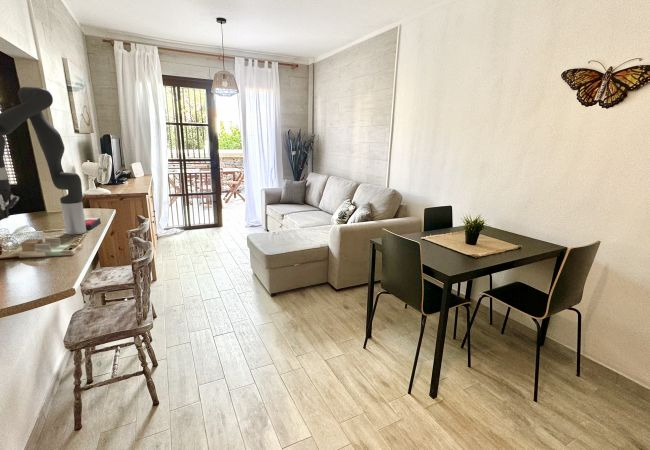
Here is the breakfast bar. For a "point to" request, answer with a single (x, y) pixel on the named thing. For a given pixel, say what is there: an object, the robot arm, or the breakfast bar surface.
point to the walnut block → (30, 244)
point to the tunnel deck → (51, 249)
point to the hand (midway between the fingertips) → (4, 218)
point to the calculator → (92, 223)
